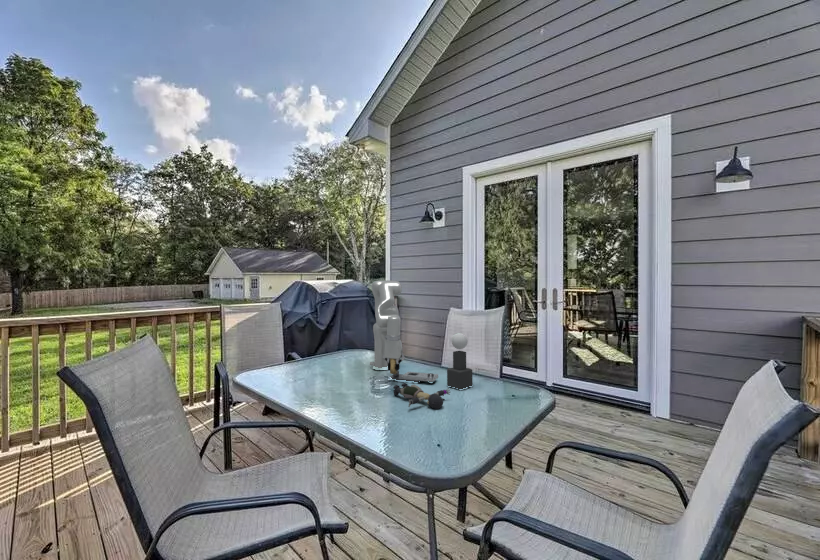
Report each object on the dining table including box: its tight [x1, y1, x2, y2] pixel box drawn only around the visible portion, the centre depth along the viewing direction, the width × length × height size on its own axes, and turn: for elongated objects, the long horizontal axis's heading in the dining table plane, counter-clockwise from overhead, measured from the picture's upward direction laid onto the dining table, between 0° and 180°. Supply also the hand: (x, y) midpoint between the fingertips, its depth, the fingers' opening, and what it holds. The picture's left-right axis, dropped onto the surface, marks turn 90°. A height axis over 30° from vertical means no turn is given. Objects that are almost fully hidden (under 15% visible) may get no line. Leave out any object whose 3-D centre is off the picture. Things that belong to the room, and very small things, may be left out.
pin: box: [389, 359, 397, 375], centre depth 211 cm, size 4×4×10 cm
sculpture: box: [446, 332, 474, 389], centre depth 205 cm, size 10×10×30 cm
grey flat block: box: [389, 369, 439, 382], centre depth 219 cm, size 28×10×5 cm, turn 68°
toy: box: [392, 382, 451, 410], centre depth 180 cm, size 27×7×30 cm
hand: (393, 369), depth 211 cm, fingers closed on pin, 4 cm apart
